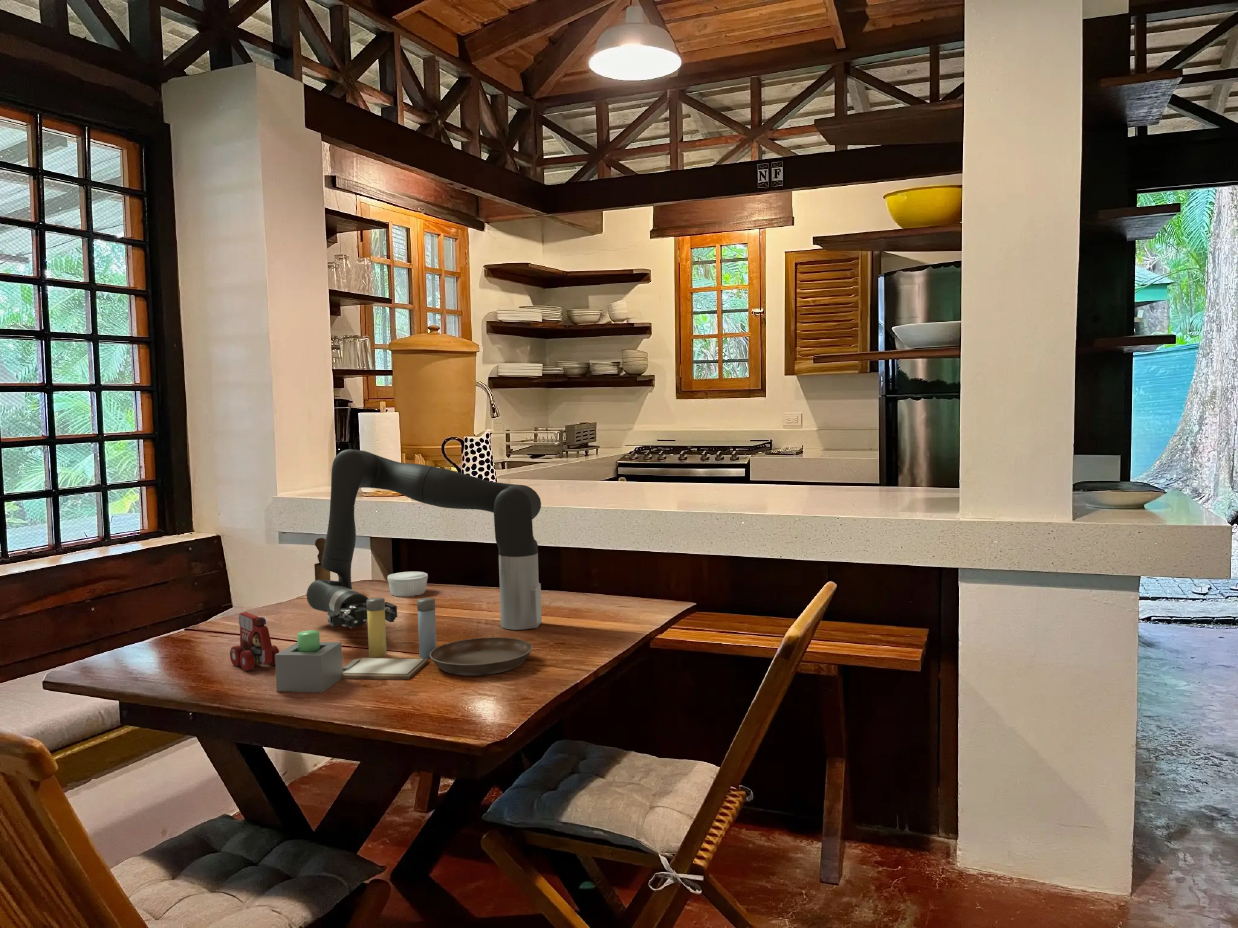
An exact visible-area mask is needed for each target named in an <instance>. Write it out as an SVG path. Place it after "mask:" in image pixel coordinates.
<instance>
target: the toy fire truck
mask: <svg viewBox="0 0 1238 928" xmlns="http://www.w3.org/2000/svg"><path fill="white" fill-rule="evenodd" d="M266 620H267V619H266V618H265V617H263V616H258V615H256V614H252V613H250V612H247V611H245V612H241V613H239V615H238V625H239V645H235V646H232V647H231V648H230V650H229V657H230V662H231V664H232V665H233V666H234V667H238V666H241V669H242V671H244V672H249V671H252V670H254V669H255V667H256V666H257V665H261V664H262V665H269V666H275V655H276V654H277V653H279V652H280V649H279V647H278V646H276V645H274V644H272V640H271V636H270V631H269V628H268V626H266V625H267V621H266Z"/></svg>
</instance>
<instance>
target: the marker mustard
mask: <svg viewBox="0 0 1238 928" xmlns="http://www.w3.org/2000/svg"><path fill="white" fill-rule="evenodd" d="M385 600H386V599H385V598H384V597H371V598H368V599H367V619H368V621H367V637H368V638H367V640H368V642H367V643H368V644H367V645H368V658H385V656H387V636H386V635H387V633H386V620H385Z"/></svg>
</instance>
